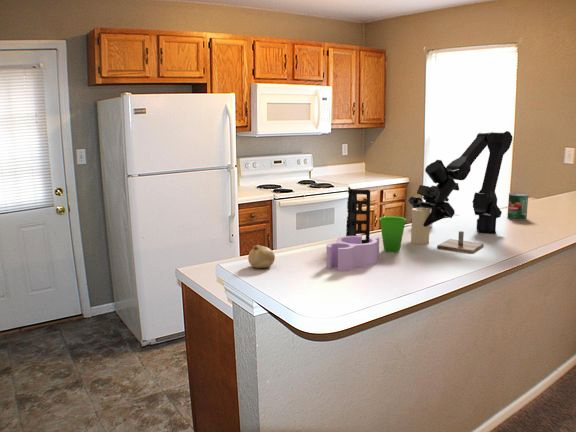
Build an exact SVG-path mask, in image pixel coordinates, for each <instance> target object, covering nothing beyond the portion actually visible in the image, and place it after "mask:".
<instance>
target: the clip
mask: <svg viewBox="0 0 576 432" xmlns="http://www.w3.org/2000/svg"><path fill="white" fill-rule="evenodd" d="M362 240H363V234H356V236H346V235H345V236H339V237H337V239H336V242H335V241H334V242H330V243H327V244H326V255H325V257H326V260H325V262H326V263H325V265H326V270H331V269H333V266H337V272H348V271H349V272H350V271H352V270H354V269H356V268H361V267H363V268H364V267H371V266H373V265H375V264H376V263H377V262H378V260H379V259H380V237H369V243H365V244H362Z"/></svg>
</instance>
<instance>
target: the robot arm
mask: <svg viewBox="0 0 576 432" xmlns="http://www.w3.org/2000/svg"><path fill="white" fill-rule="evenodd" d="M512 141H513V135H512V133H511V131H508V130H493V131H491V132H489V131H485V132H483V131H481V132H479V133H477V135H476V137H475V139H474V140H472V141H471V143H470V145H469V146H467V148H466V149H465V150H464V151H463V153H462V154H461V155H460V156H459V157H457V158H456V159H453V160H452V161H451V162H449V163H448V164H447V165H446V166H445V164H444V163H443V161H442V159H436V160H435V161H433V162H431V163H429V164H428V165H427V166H426V167H425V169H424V171H425V173H426V175H428V178H430V179H431V181H432V182H433V183H434V184H436V185H431V186H428V185H422V184H420V185H419V186H418V189H417V192H416V194H417V195H420V196H422V198H421V197H420V196H410V197H409V198H408V202H409V204H410V206H412V208H429V209H432V210H431V213H430V215H429V216H428V218H427V219H426V221H425V222H424V224H423V225H424V227H426V226H428V225H430V224H432V223H433V224H434V223H436V222H439V221H441V220H443V219H446V218H450V219H452V218H453V217H454V215H455V212H456V211H455V209H454V208H453V206H452V205H451V204H450V203H449V201H450V199H449V196H450V195H451V193H452V192H453V191H460V186H459V183H458V182H456V181H464V180H466V179H467V177H468V176H469V174H470V172H471V170H472V169H471V167H472V165H473V164H474V162H475V161H476V159H477V158H478V157H479V156H480V154H482V152H483V151H484V150H485V148H487V149H488V152H489V155H488V159H487V162H486V163H487V164H486V167H485V173H484V177H483V181H482V186H481V189H480V190H479V191H478V192H474V194H473V199H472V201H471V203H472V208H473V213H474V216H478V218H477V219H476V231H477V232H478V233H482V234H484V233H487V234H496V233H497V231H496V228H497V227H496V226H497V219H499V218H501V216H502V212H503V211H502V210H501V209H500V208H499V206H498V197H497V194H496V188H497V184H498V180H499V177H500V172H501V167H502V162H503V158H504V156H505V154H506V153H507V152H508V151H509V150H510V147H511V145H512V143H513V142H512ZM455 180H456V181H455ZM423 201H425V202H423ZM410 223H411V224H412V217H411V219H410ZM433 224H432V225H433Z"/></svg>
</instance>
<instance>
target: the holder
mask: <svg viewBox="0 0 576 432" xmlns="http://www.w3.org/2000/svg"><path fill="white" fill-rule="evenodd" d="M347 190H348V191H347V193H348V197H347V203H346V204H347V205H346V207H347V208H346V209H347V210H346V212H347V217H346V229H345V230H346V231H345V232H346V233H345V236H357V235H365V239H362V244H365V243H369V238H370V231H371V230H370V228H371V226H370V225H371V190H370V189H354V188H351V187H350V186H349V187H347ZM358 195H365V196H366V199H365V200H358ZM363 205H366V209H365V210H363ZM357 215H365V216H366V217H365V220H360V219H357ZM362 225H365V229H362Z"/></svg>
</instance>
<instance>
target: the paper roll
mask: <svg viewBox="0 0 576 432" xmlns="http://www.w3.org/2000/svg"><path fill="white" fill-rule="evenodd" d="M429 215H430V209H428V208H413V207H412V209H411V218H412V223H411V227H410V230H411V233H410V235H411V236H410V243H413V244H415V245H417V244H419V245H426V244H429V243H430V228H431V227H430V225H428V226H426V227H424V225H423V224H424V222H425V221H426V219H427V218H428V216H429Z"/></svg>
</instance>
